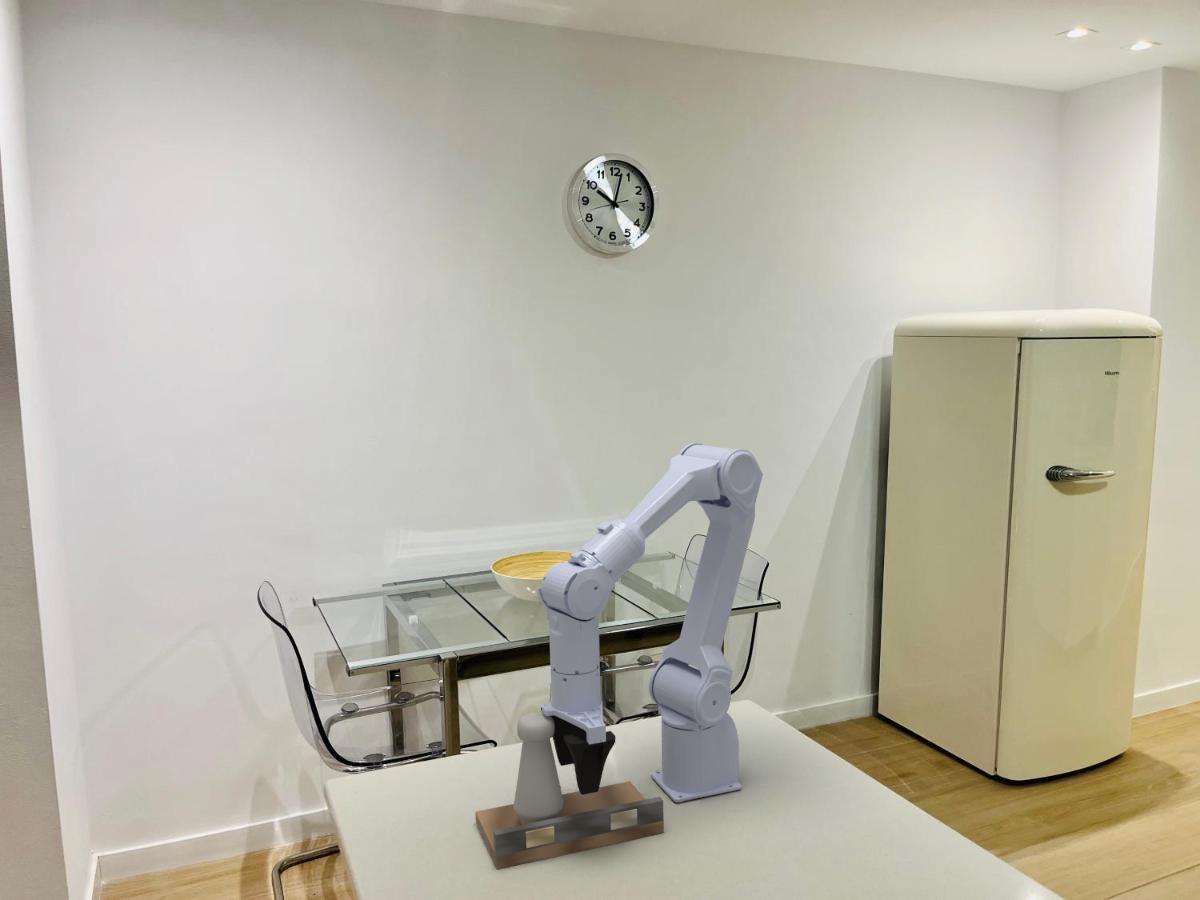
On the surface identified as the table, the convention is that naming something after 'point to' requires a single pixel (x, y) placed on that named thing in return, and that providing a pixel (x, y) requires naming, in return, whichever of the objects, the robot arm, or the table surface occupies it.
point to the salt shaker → (537, 771)
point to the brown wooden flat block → (571, 825)
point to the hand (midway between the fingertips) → (578, 777)
